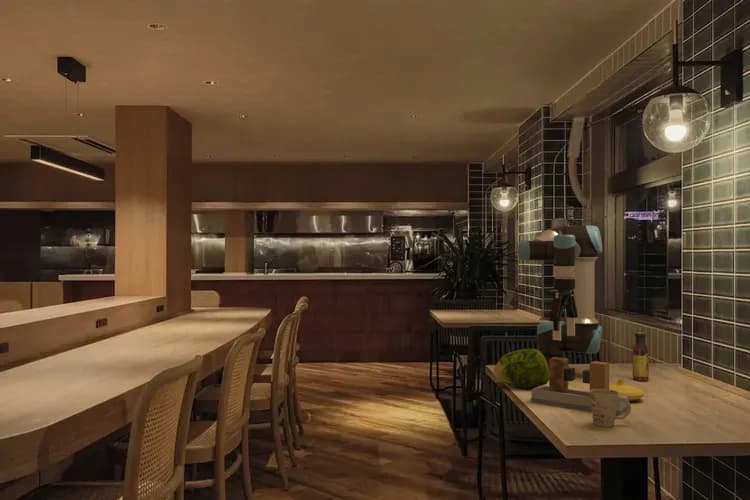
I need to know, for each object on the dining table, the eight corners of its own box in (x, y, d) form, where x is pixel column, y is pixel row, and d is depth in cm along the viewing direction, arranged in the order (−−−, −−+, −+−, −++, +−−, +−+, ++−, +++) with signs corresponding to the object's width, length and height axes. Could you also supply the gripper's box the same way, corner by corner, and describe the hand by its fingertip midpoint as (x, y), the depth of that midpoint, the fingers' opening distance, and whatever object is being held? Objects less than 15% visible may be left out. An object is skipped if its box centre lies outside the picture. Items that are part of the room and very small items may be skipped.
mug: (584, 421, 198) (584, 388, 198) (623, 420, 199) (623, 388, 199) (596, 428, 190) (596, 394, 190) (636, 427, 191) (637, 394, 191)
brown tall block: (549, 398, 222) (549, 358, 222) (554, 396, 226) (554, 357, 226) (570, 402, 218) (570, 360, 218) (575, 399, 222) (575, 359, 222)
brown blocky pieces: (531, 402, 223) (531, 357, 224) (542, 397, 231) (542, 354, 232) (619, 415, 205) (619, 367, 206) (628, 410, 213) (628, 363, 214)
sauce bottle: (650, 382, 263) (650, 333, 264) (634, 381, 265) (634, 333, 265) (646, 379, 270) (647, 332, 270) (631, 378, 271) (631, 331, 271)
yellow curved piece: (622, 406, 220) (622, 385, 220) (588, 397, 234) (588, 377, 234) (654, 401, 227) (654, 381, 227) (618, 393, 241) (618, 374, 241)
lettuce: (499, 388, 260) (487, 353, 259) (549, 373, 257) (538, 338, 256) (502, 402, 244) (490, 366, 243) (556, 387, 242) (544, 350, 240)
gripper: (561, 279, 214) (561, 342, 214) (586, 277, 234) (586, 334, 234) (540, 279, 219) (539, 340, 219) (566, 276, 239) (566, 333, 239)
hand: (564, 337), depth 227 cm, fingers open, 13 cm apart
